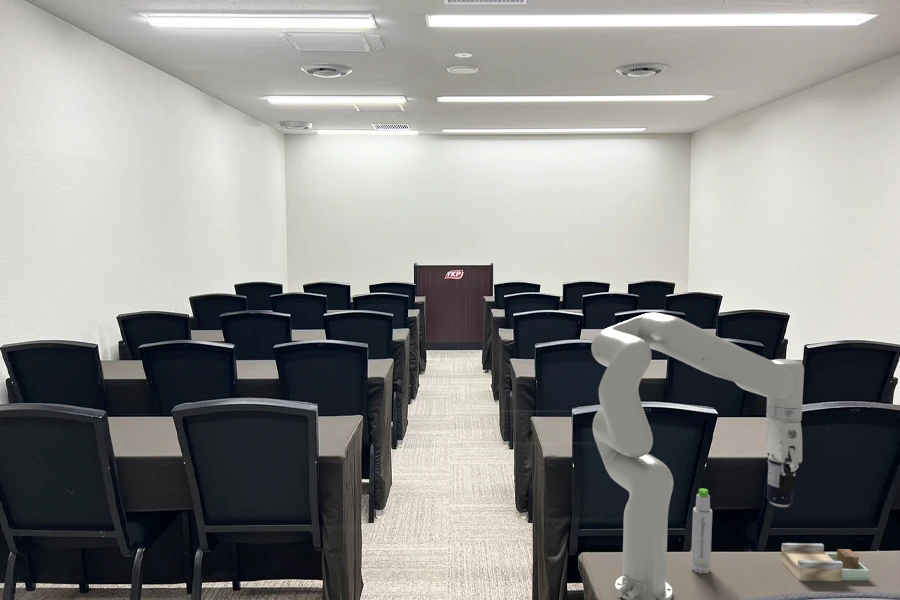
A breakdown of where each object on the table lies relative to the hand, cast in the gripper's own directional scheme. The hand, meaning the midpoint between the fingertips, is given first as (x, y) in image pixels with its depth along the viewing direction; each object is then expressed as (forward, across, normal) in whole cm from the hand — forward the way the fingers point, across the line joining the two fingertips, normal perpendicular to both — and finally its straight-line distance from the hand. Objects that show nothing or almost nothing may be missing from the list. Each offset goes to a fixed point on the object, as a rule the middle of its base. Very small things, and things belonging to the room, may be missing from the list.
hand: (780, 485), depth 169 cm
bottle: (+21, 0, +18) cm, 28 cm away
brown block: (+19, 0, -15) cm, 24 cm away
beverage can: (+5, 0, 0) cm, 5 cm away
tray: (+21, 0, -16) cm, 27 cm away
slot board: (+21, 0, -8) cm, 23 cm away
